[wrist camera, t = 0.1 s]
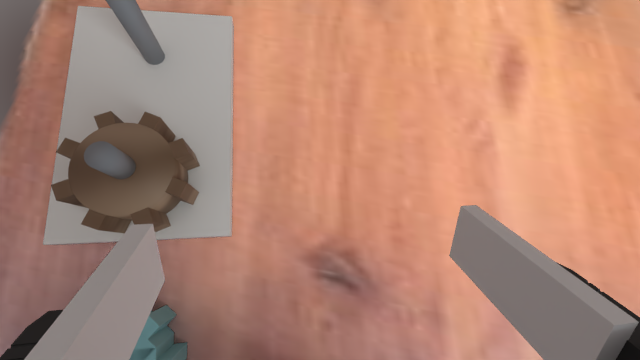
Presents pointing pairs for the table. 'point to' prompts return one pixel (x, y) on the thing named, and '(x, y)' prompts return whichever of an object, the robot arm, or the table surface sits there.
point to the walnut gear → (141, 187)
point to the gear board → (150, 109)
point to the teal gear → (159, 339)
